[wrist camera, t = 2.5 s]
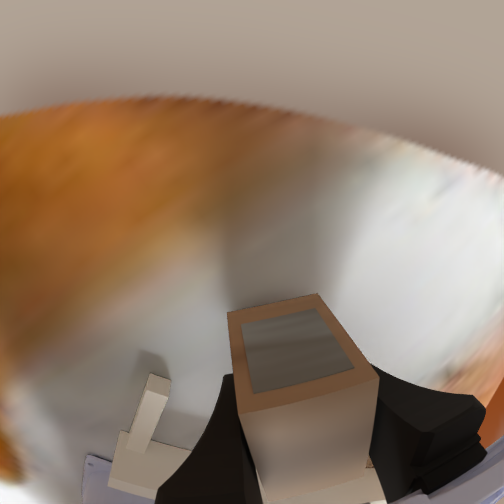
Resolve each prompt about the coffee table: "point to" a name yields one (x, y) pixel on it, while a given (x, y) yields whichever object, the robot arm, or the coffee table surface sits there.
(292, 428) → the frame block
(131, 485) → the cream pronged rack
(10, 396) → the coffee table surface
